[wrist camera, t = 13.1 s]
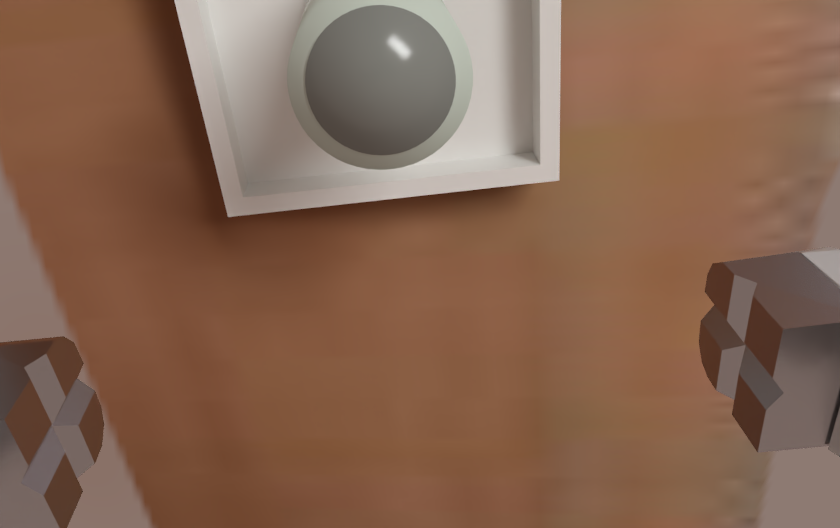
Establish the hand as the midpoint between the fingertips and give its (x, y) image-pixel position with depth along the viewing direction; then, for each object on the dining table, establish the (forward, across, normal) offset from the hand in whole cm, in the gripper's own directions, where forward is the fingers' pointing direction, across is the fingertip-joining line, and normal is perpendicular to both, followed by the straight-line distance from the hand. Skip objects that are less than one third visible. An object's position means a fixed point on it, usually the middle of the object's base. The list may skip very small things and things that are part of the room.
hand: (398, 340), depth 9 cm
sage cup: (+21, 0, 0) cm, 21 cm away
